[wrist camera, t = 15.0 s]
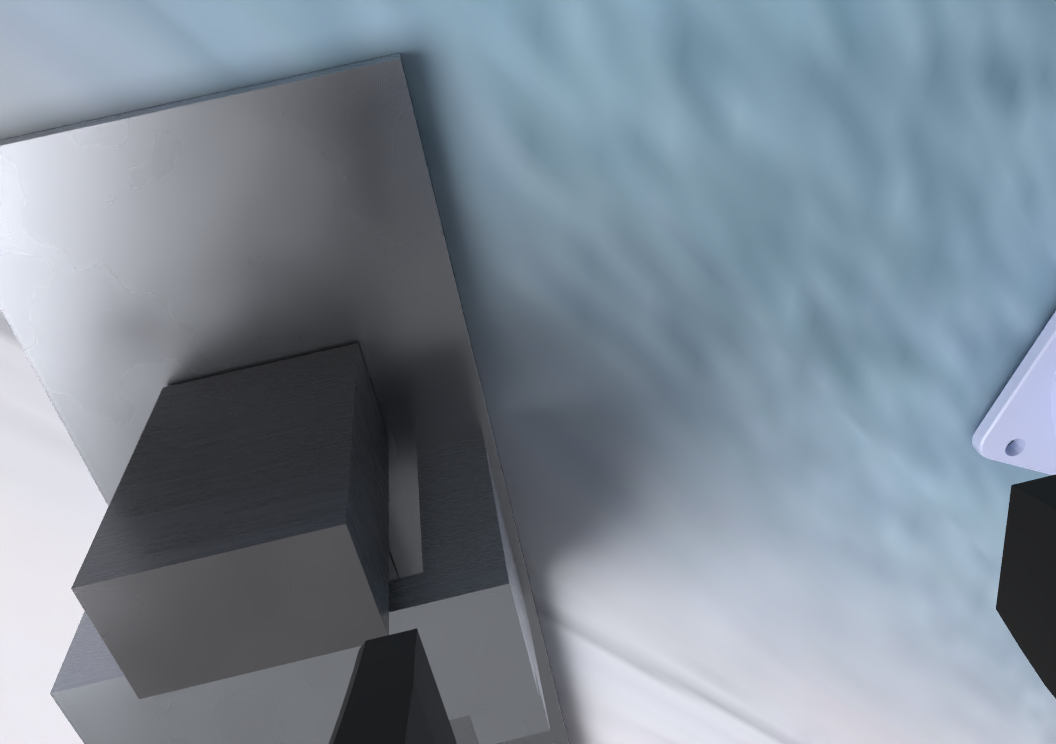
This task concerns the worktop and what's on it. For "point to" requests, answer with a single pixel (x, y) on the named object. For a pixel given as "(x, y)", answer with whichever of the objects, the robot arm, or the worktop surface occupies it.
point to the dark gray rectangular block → (246, 526)
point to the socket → (269, 336)
